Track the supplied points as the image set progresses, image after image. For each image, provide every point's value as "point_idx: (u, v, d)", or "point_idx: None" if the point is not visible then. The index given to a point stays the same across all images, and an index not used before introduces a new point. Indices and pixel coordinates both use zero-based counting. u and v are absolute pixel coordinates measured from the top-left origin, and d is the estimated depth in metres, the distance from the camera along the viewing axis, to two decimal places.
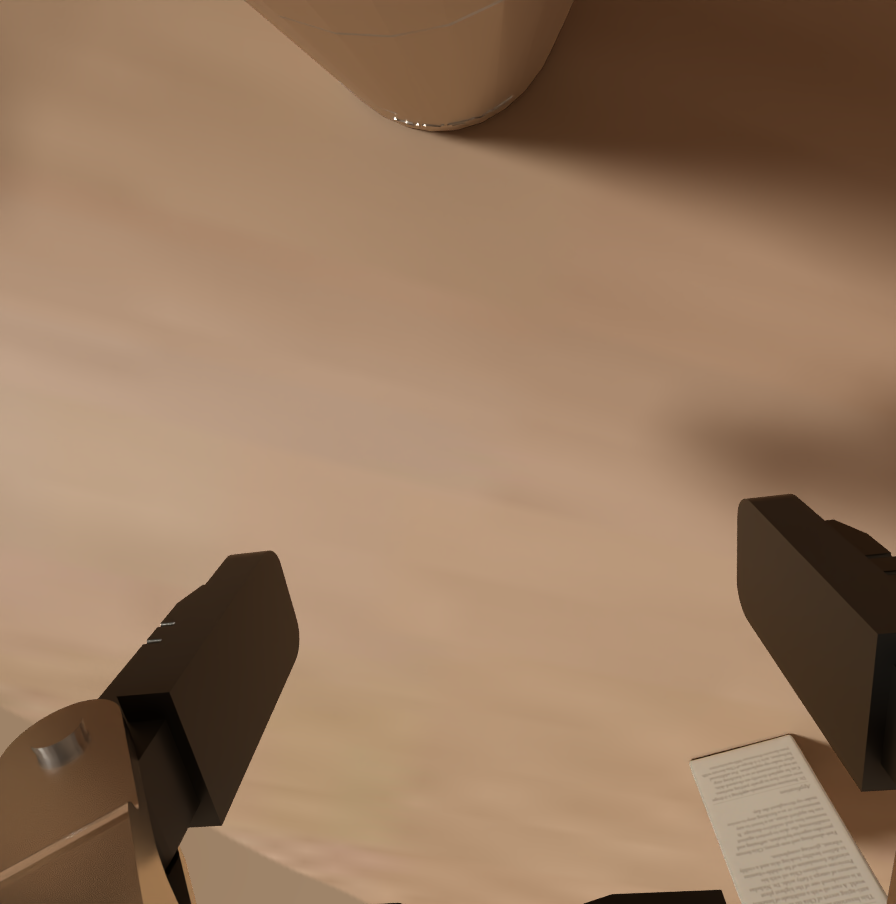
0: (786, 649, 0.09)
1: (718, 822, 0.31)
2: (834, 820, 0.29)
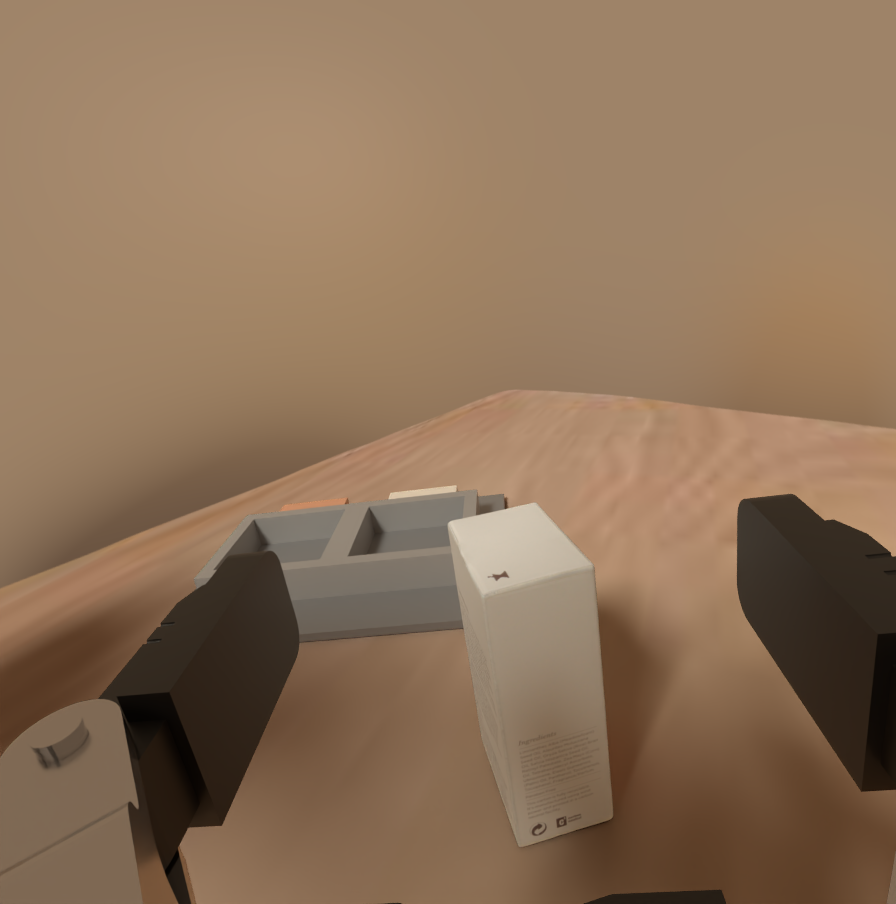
0: (786, 649, 0.09)
1: (505, 769, 0.23)
2: None
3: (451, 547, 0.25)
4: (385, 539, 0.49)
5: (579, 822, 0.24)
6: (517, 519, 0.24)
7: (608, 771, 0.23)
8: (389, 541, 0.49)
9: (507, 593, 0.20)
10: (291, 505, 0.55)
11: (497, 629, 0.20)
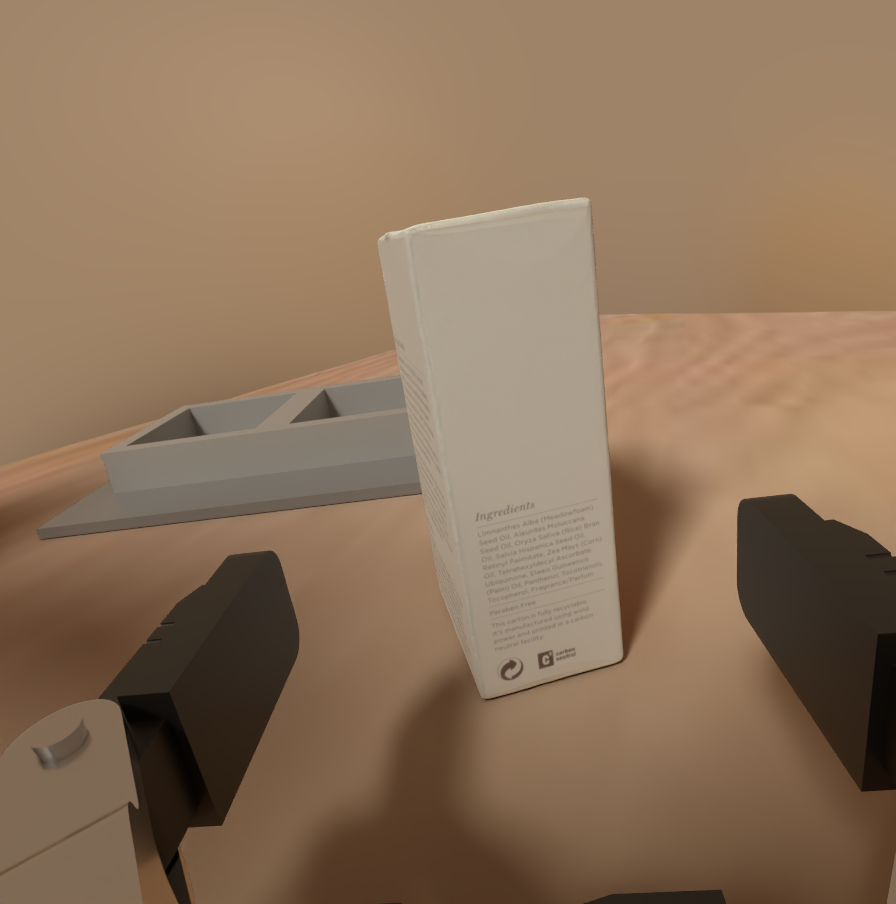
0: (786, 649, 0.09)
1: (457, 568, 0.15)
2: (416, 459, 0.19)
3: (383, 274, 0.17)
4: None
5: (573, 662, 0.16)
6: None
7: (615, 579, 0.15)
8: None
9: (448, 229, 0.12)
10: None
11: (433, 299, 0.12)
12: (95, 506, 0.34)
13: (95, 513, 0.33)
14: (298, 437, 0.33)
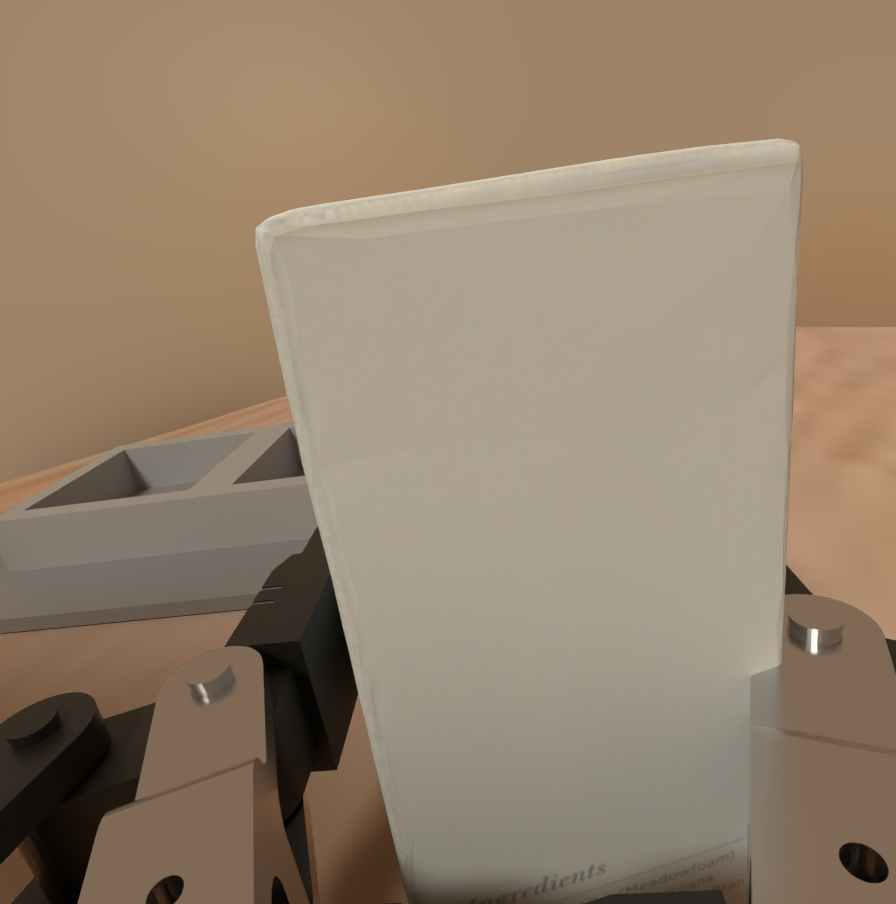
0: None
1: None
2: None
3: None
4: None
5: None
6: None
7: None
8: None
9: (391, 224, 0.04)
10: None
11: (351, 426, 0.04)
12: None
13: None
14: (242, 504, 0.25)
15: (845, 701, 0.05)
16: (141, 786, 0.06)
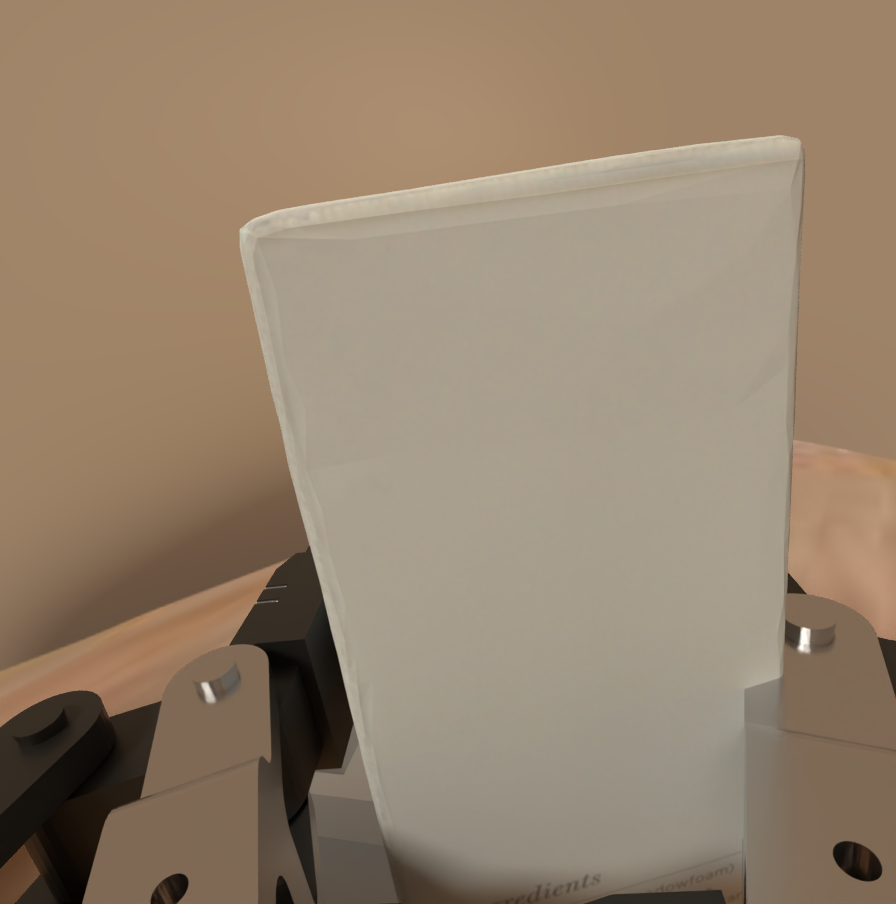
0: None
1: None
2: None
3: None
4: None
5: None
6: None
7: None
8: None
9: (377, 225, 0.04)
10: None
11: (337, 430, 0.04)
12: None
13: None
14: None
15: (838, 701, 0.05)
16: (148, 783, 0.06)
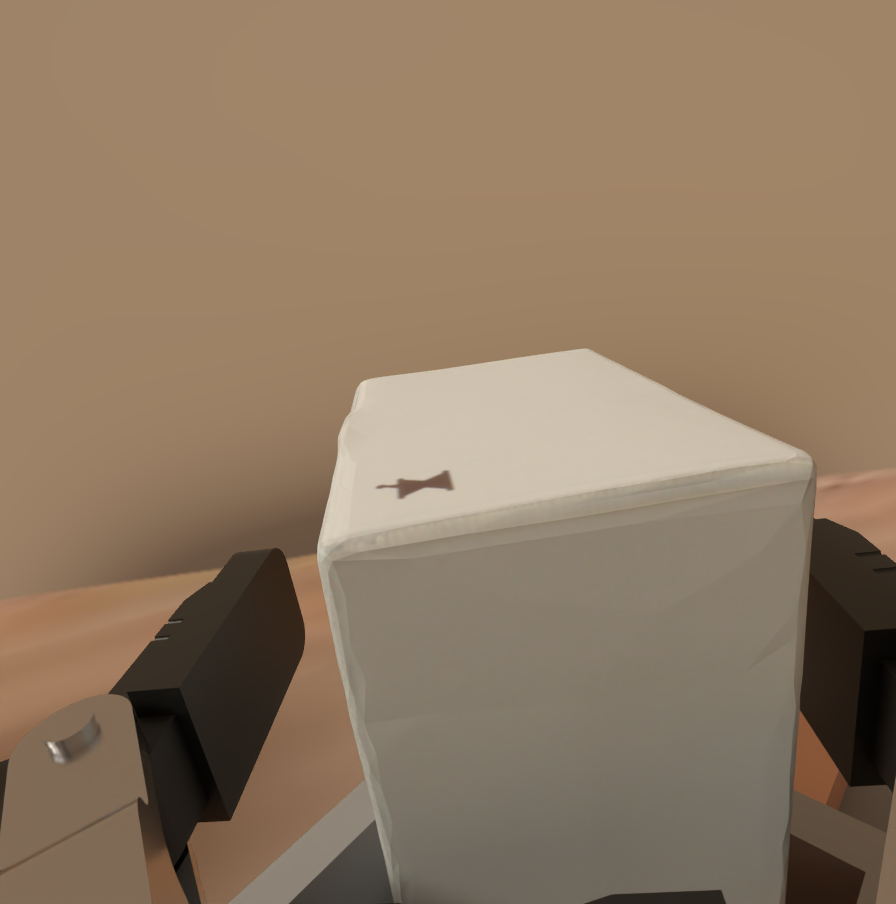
0: None
1: None
2: None
3: None
4: None
5: None
6: (533, 370, 0.09)
7: None
8: None
9: (432, 547, 0.05)
10: None
11: (391, 694, 0.05)
12: None
13: None
14: None
15: None
16: (2, 859, 0.05)
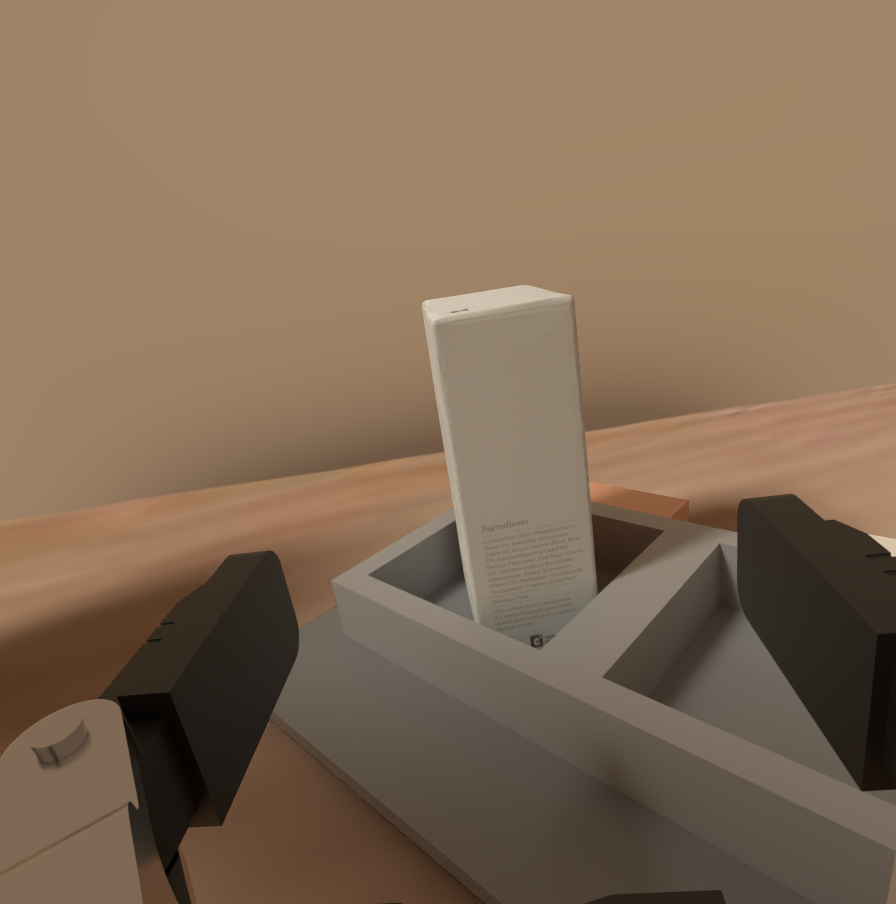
0: (786, 649, 0.09)
1: (468, 566, 0.19)
2: None
3: None
4: (739, 633, 0.20)
5: None
6: (500, 291, 0.21)
7: (594, 583, 0.20)
8: (748, 644, 0.20)
9: (463, 321, 0.16)
10: None
11: (451, 370, 0.17)
12: (307, 657, 0.23)
13: (293, 682, 0.21)
14: (609, 731, 0.15)
15: None
16: None
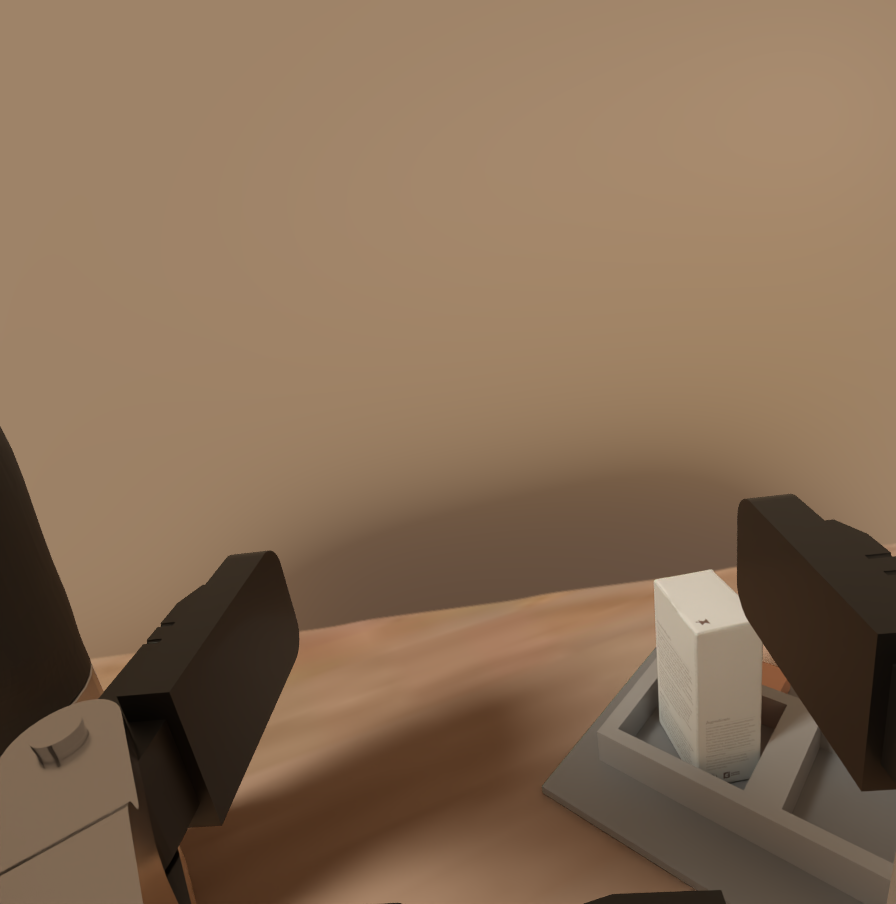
0: (786, 649, 0.09)
1: (694, 738, 0.37)
2: (658, 666, 0.41)
3: (656, 596, 0.39)
4: (834, 770, 0.38)
5: (737, 776, 0.38)
6: (703, 582, 0.38)
7: (759, 745, 0.37)
8: (841, 778, 0.37)
9: (711, 633, 0.34)
10: None
11: (702, 653, 0.34)
12: (584, 775, 0.40)
13: (585, 793, 0.39)
14: (790, 837, 0.32)
15: None
16: None
